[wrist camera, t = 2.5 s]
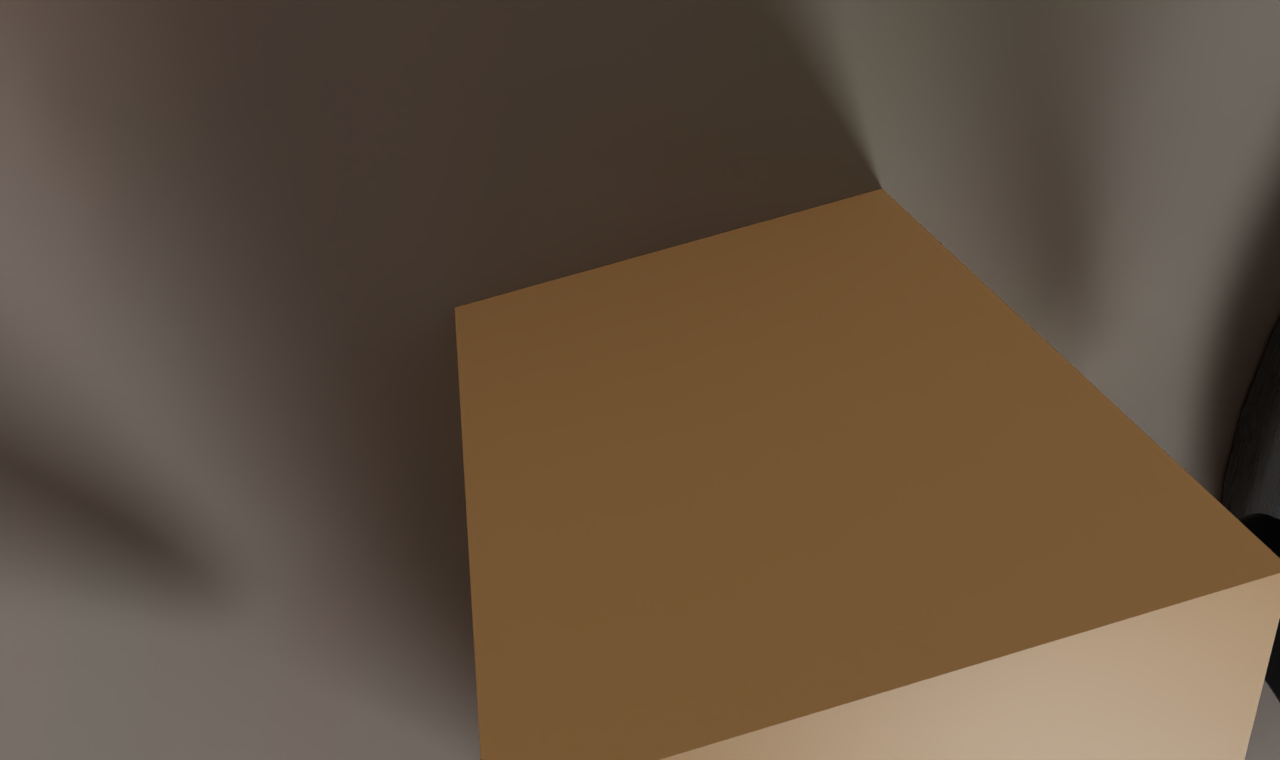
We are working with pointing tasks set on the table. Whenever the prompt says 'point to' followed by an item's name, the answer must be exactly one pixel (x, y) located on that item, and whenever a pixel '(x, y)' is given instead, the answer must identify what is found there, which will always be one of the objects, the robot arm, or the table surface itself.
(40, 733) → the table surface
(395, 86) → the table surface
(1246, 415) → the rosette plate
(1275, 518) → the robot arm
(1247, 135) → the table surface
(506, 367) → the tan and grey block
